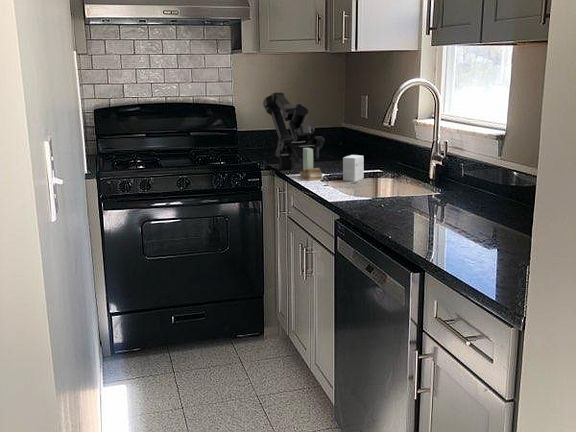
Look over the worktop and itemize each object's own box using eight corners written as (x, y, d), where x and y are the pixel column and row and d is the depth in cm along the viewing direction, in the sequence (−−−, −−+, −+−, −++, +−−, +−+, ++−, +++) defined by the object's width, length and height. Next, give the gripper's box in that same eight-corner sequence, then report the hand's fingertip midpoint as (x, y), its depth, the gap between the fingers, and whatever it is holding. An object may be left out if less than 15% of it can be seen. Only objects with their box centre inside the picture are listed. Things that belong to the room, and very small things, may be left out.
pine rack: (297, 178, 277) (297, 166, 275) (312, 176, 279) (312, 165, 278) (308, 183, 266) (308, 170, 264) (323, 181, 268) (323, 169, 267)
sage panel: (303, 176, 276) (302, 148, 273) (308, 175, 277) (308, 147, 274) (307, 178, 271) (307, 149, 268) (313, 177, 272) (313, 149, 269)
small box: (352, 179, 272) (352, 154, 269) (363, 180, 269) (364, 155, 266) (342, 182, 265) (342, 157, 263) (354, 183, 262) (354, 158, 260)
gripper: (281, 120, 270) (291, 149, 263) (322, 117, 276) (333, 146, 269) (276, 137, 279) (285, 166, 272) (315, 134, 285) (326, 162, 278)
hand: (308, 159), depth 272 cm, fingers open, 9 cm apart
